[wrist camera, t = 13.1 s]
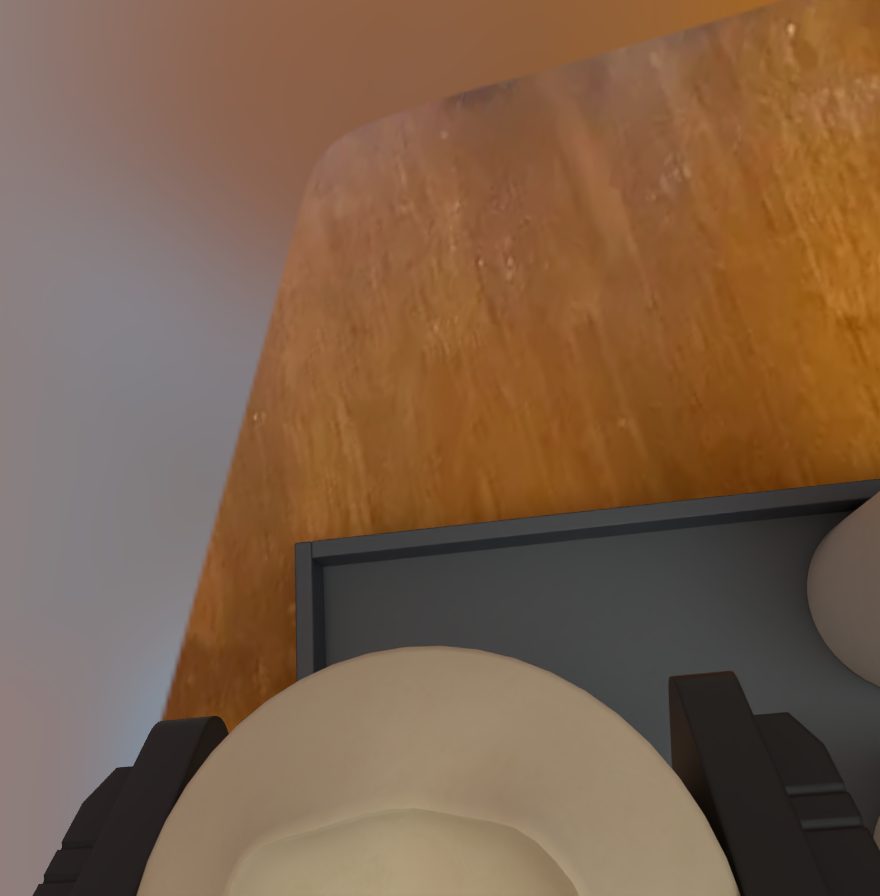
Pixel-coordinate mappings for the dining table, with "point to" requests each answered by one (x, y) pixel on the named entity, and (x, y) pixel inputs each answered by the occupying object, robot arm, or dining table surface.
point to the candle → (436, 792)
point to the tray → (615, 607)
